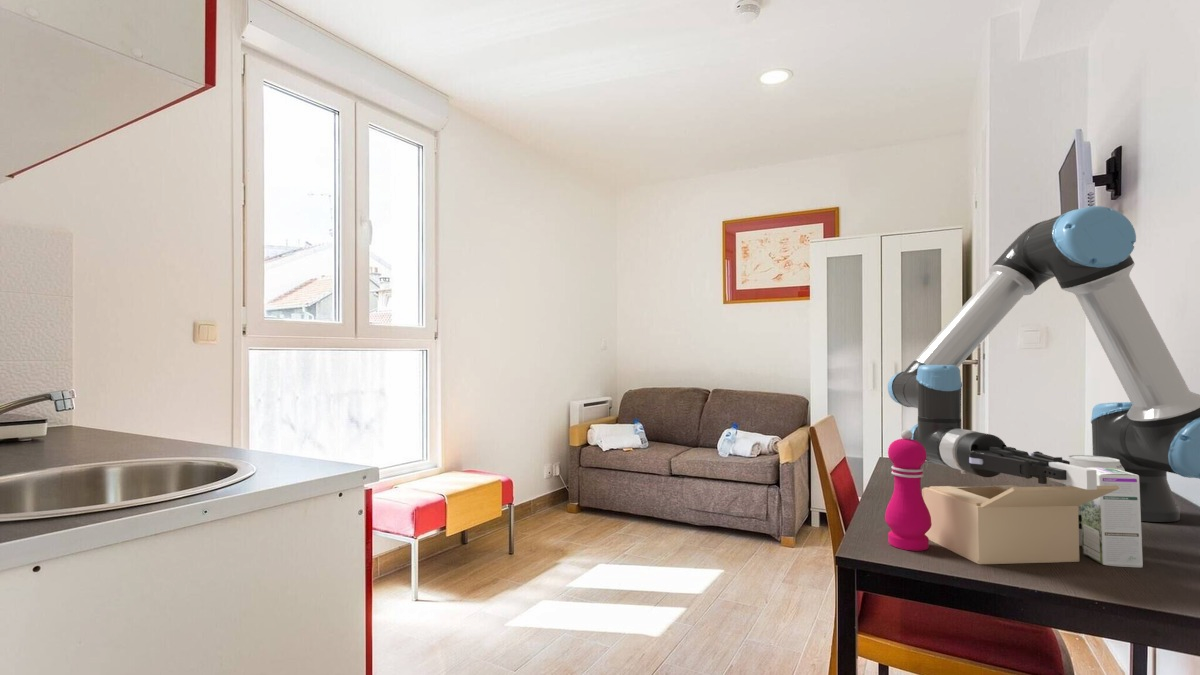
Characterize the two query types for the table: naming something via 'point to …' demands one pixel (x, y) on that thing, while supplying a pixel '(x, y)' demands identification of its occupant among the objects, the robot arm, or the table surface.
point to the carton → (1000, 527)
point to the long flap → (1047, 496)
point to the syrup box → (1114, 521)
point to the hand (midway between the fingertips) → (1091, 479)
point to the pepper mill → (907, 496)
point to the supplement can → (1090, 462)
